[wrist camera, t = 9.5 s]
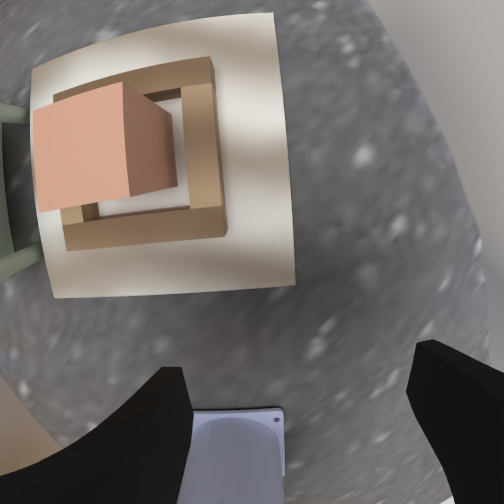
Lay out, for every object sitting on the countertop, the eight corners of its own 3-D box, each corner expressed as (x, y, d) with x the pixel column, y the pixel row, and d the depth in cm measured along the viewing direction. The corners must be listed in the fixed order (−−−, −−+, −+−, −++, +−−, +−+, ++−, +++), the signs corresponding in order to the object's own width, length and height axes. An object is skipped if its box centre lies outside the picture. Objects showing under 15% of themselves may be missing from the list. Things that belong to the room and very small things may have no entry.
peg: (177, 186, 16) (129, 197, 10) (112, 195, 16) (39, 212, 10) (171, 114, 15) (122, 81, 9) (106, 127, 15) (32, 111, 9)
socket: (293, 279, 19) (300, 298, 16) (61, 292, 19) (38, 309, 16) (271, 19, 15) (275, -4, 12) (40, 71, 15) (15, 62, 12)
